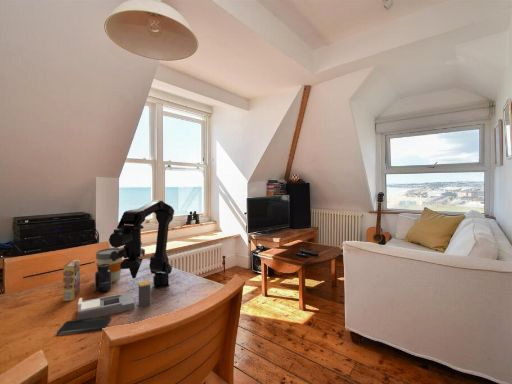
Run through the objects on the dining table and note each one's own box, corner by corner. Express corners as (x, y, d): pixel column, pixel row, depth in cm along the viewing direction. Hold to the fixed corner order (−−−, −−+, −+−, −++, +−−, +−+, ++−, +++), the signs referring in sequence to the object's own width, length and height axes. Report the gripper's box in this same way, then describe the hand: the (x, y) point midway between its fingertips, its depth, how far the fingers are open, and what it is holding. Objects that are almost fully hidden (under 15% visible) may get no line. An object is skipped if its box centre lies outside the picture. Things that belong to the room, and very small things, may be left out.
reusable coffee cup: (91, 280, 132) (90, 251, 132) (115, 273, 143) (115, 246, 142) (104, 285, 126) (103, 255, 125) (128, 277, 136) (128, 250, 136)
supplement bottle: (103, 293, 117) (103, 268, 116) (91, 292, 118) (90, 266, 118) (115, 287, 124) (114, 263, 123) (102, 286, 125) (102, 262, 124)
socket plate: (132, 297, 113) (132, 291, 113) (134, 308, 104) (134, 301, 104) (80, 308, 103) (80, 300, 103) (77, 321, 94) (77, 313, 94)
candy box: (74, 300, 110) (74, 265, 110) (62, 301, 109) (61, 266, 108) (80, 291, 119) (80, 259, 118) (69, 293, 117) (69, 260, 117)
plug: (148, 300, 111) (148, 280, 110) (150, 304, 107) (150, 283, 107) (138, 303, 109) (138, 282, 108) (139, 307, 105) (139, 285, 105)
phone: (105, 327, 89) (55, 333, 85) (105, 330, 89) (55, 336, 85) (112, 316, 97) (66, 320, 93) (112, 318, 97) (66, 323, 93)
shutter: (100, 300, 105) (99, 294, 105) (99, 307, 99) (99, 300, 99) (79, 304, 102) (79, 297, 102) (77, 311, 96) (77, 305, 96)
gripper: (117, 237, 112) (118, 271, 113) (104, 248, 94) (105, 289, 95) (144, 235, 115) (145, 269, 116) (137, 246, 97) (138, 286, 98)
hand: (134, 278), depth 106 cm, fingers closed
